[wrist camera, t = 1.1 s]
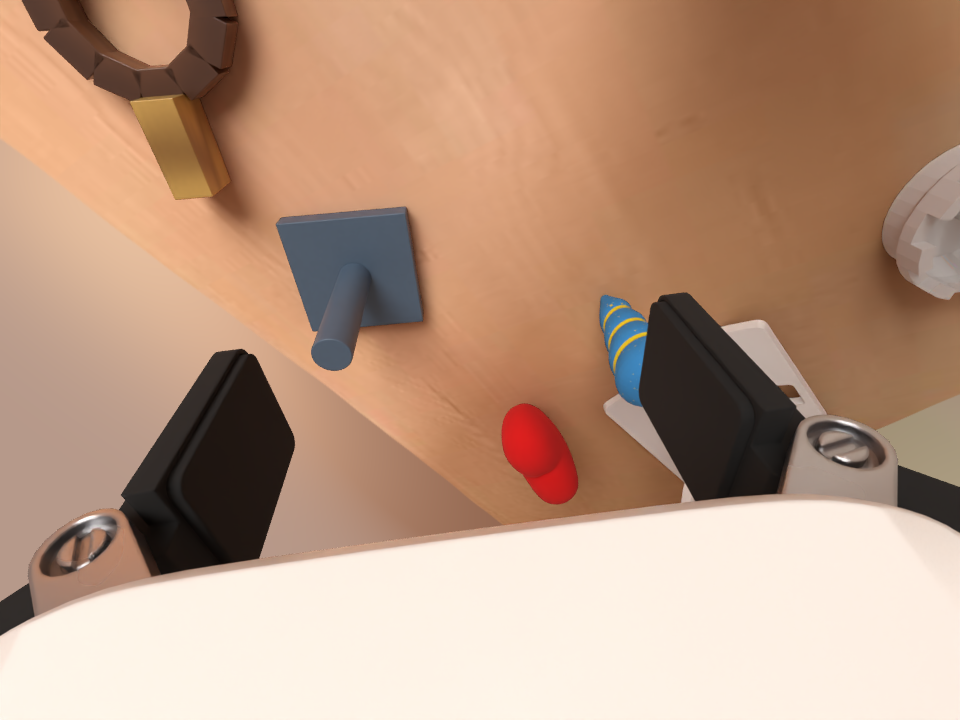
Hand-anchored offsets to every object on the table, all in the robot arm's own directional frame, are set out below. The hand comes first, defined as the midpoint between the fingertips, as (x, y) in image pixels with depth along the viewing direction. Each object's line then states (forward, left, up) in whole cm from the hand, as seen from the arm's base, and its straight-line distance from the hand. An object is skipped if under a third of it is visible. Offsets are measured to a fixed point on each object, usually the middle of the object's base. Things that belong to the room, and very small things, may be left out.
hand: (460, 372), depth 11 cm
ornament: (+15, +13, -28) cm, 35 cm away
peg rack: (+10, -9, -28) cm, 31 cm away
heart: (+29, +6, -28) cm, 41 cm away
